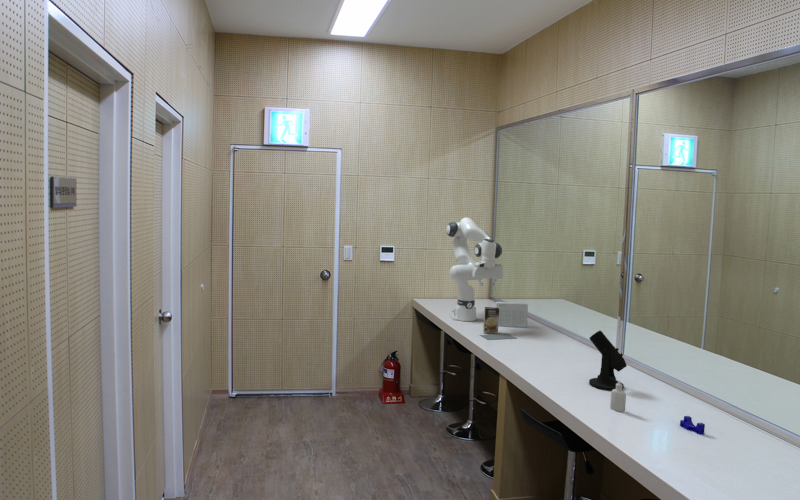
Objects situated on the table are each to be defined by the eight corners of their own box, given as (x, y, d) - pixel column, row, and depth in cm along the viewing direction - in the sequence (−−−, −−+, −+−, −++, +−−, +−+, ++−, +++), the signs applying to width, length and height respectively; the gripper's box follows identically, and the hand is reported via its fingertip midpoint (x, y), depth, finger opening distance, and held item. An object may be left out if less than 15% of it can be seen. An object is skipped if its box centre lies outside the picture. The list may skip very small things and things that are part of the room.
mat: (479, 335, 336) (479, 335, 336) (508, 334, 342) (508, 333, 342) (487, 339, 326) (487, 339, 326) (517, 338, 331) (517, 338, 331)
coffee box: (483, 333, 342) (484, 308, 340) (483, 331, 348) (484, 306, 346) (498, 334, 341) (499, 309, 339) (497, 332, 347) (498, 307, 346)
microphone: (592, 377, 259) (596, 326, 257) (630, 386, 249) (633, 332, 246) (581, 384, 248) (584, 331, 246) (619, 394, 237) (623, 338, 235)
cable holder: (679, 426, 204) (680, 416, 204) (687, 426, 205) (688, 415, 204) (695, 435, 196) (696, 424, 196) (703, 434, 197) (704, 424, 197)
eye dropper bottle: (618, 407, 221) (620, 378, 220) (626, 412, 216) (628, 383, 215) (608, 407, 221) (610, 379, 220) (616, 412, 215) (618, 383, 214)
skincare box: (526, 325, 368) (527, 302, 366) (527, 327, 362) (528, 304, 361) (494, 324, 370) (495, 301, 368) (495, 326, 364) (496, 302, 363)
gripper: (500, 263, 354) (499, 284, 355) (471, 263, 348) (470, 284, 350) (504, 264, 348) (503, 285, 349) (475, 264, 342) (474, 286, 344)
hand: (487, 285), depth 349 cm, fingers open, 7 cm apart
